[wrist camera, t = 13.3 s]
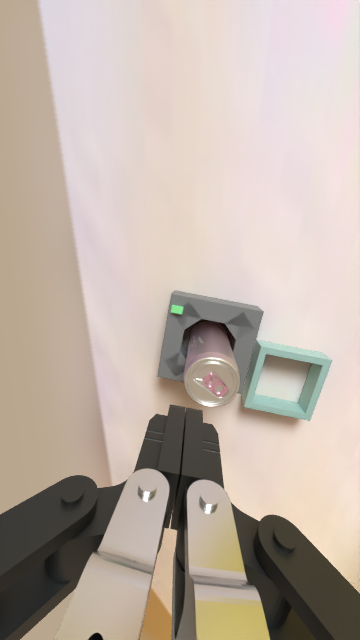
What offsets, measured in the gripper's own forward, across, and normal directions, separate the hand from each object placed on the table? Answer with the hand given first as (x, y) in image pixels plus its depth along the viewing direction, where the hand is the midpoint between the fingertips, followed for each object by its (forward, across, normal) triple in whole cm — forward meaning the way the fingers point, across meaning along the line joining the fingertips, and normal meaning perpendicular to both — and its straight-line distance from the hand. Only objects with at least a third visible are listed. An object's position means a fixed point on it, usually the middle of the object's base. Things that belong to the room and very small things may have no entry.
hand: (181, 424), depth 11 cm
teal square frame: (+28, -16, +9) cm, 33 cm away
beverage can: (+28, -3, +5) cm, 29 cm away
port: (+28, -3, +5) cm, 29 cm away
